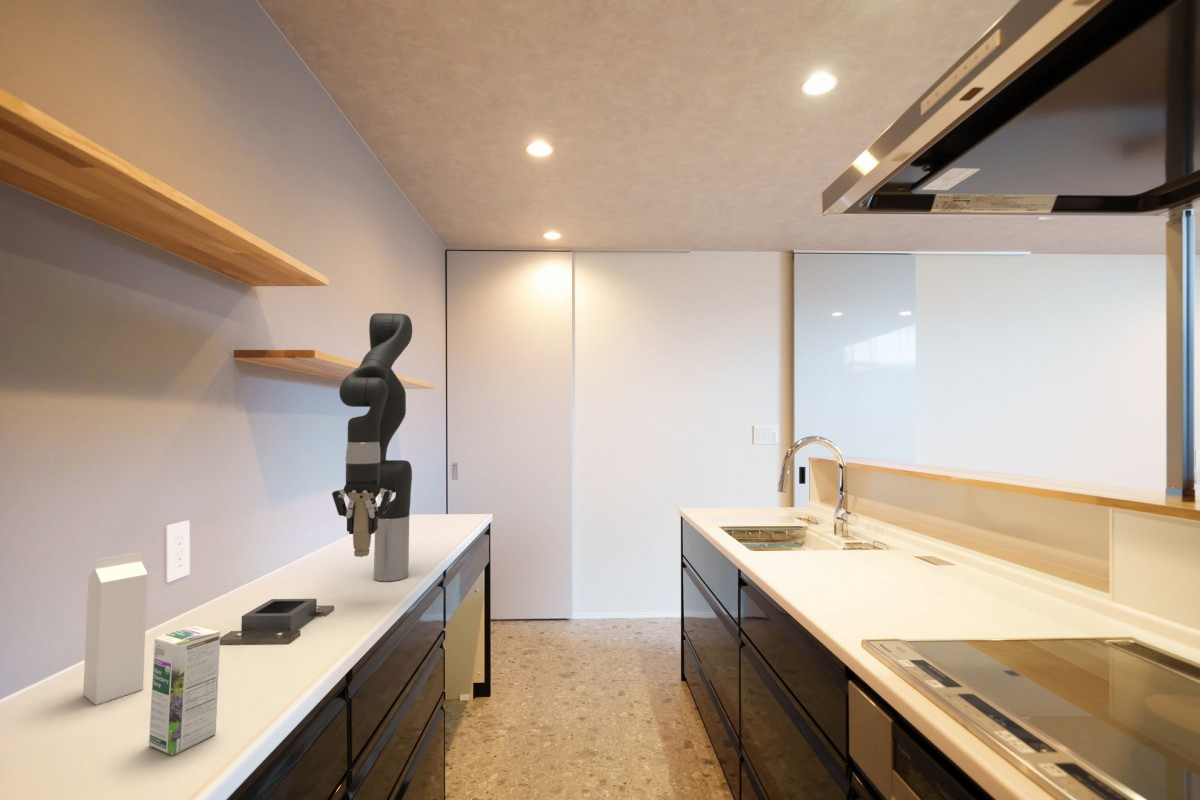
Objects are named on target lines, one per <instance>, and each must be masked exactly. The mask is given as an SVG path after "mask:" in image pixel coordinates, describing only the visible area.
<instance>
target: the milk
mask: <svg viewBox="0 0 1200 800" xmlns="http://www.w3.org/2000/svg"><path fill="white" fill-rule="evenodd" d="M142 559H143V555H142V553H141V552H134V553H127V554H121V555H115V556H109V557H103V558H101V557H100V558H97V559H96V560H95V561H94V563H95V564H94V570H93V571H92V572H91V573H90V574H89V575H88V581H87V583H88V585H87V602H86V603H87V604H86V621H85V622H86V624H85V625H86V627H85V630H86V631H85V644H84V645H85V647H84V649H85V650H84V667H83V668H84V670H83V672H84V673H83V689H82V690H83V693H82V695H83V696H84V697H86V698H87V699H88V700H89V701H90V702H91V703H93V704H94V705H96V706H98V705H101V704H104V703H107V702H109V701H112V700H116V699H118V698H123V697H124V696H128V695H131V694H135V693H137V692H140V690H141V691H142V690H144V675H145V672H144V671H145V655H146V653H145V647H146V629H147V628H146V626H147V601H148V600H147V597H148V580H149V579H148V578H149V577H148V572H147V570H146V569H147V568H146V567H145V566H144V563H143V562H142V561H143V560H142Z"/></svg>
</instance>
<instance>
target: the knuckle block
mask: <svg viewBox="0 0 1200 800" xmlns="http://www.w3.org/2000/svg"><path fill="white" fill-rule="evenodd" d="M317 600H318V599H317V598H271V599H270V600H268V601H266V602H264V603H262V604H261V605H259V606H257V607H255V608H254V609H251V610H250V611H248V612H246V613H245V614H243V615H241V625H240V626H241V627H240V629H241V630H230V631H229V632H228V633H226V634H224V635H222V636H220V646H222V645H223V646H228V645H229V646H231V645H232V646H233V645H234V646H235V645H237V646H238V645H239V646H240V644H243V645H289V644H291V643H292V642H294V641H295V640H296V639H297V638H299V637H301V630H300V629H301V628H303V627H304V626H306V625H307V624H308V623H310V622H311V621H312V620H313V619H315V618H316V617H321V616H325V617H326V616H328V615H329V614H331V613H332V612H333V611H335V605H333V604H332V605H317V604H318V603H317ZM330 612H331V613H330Z"/></svg>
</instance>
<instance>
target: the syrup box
mask: <svg viewBox="0 0 1200 800" xmlns="http://www.w3.org/2000/svg"><path fill="white" fill-rule="evenodd" d="M220 637H221V631H220V630H213V629H209V628H205V627H201V626H198V625H196V626H190V627H185V628H181V629H177V630H173V631H170V632H168V633H165V634H162V635H160V636H158V637H157V636H156V637H155V639H154V647H153V661H152V662H153V663H152V664H153V665H152V666H153V667H152V681H151V682H152V684H151V696H150V697H151V699H150V700H151V701H150V715H149V716H150V717H149V718H150V719H149V733H148V734H149V735H148V738H149V739H148V745H149V747H150V748H151V747H152V748H155V749H157V750H158V751H162V752H164V753H166V754H169V755H170V756H175V755H177V754H179V753H181V752H183V751H185V750H186V749H188V748H191V747H193V746H195V745H197V744H199V743H201V742H203V741H204V740H207V739H208V738H210V737H211V738H212V736H215V735H216V733H217V715H218V691H219V673H220V672H219V671H220V670H219V669H220V667H219V666H220V647H221V645H220Z"/></svg>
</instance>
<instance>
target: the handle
mask: <svg viewBox="0 0 1200 800" xmlns="http://www.w3.org/2000/svg"><path fill="white" fill-rule="evenodd" d="M368 495H369V497H368V496H367V493H348V496H347V497H348V499H349V500H353V501H355V514H354V526H353V534H352V542H353V543H352V544H353V549H354V551H353V553H354V554H353V555H354V557H359V558H363V557H367V556H369V554H370V548H371V540H372V534H369V518H370V515H369V511H368V509H367V507H366V503H365V500H367V499H369V498H370V499H372V498H374V496H373V493H368ZM375 498H378V496H376V497H375Z"/></svg>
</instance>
